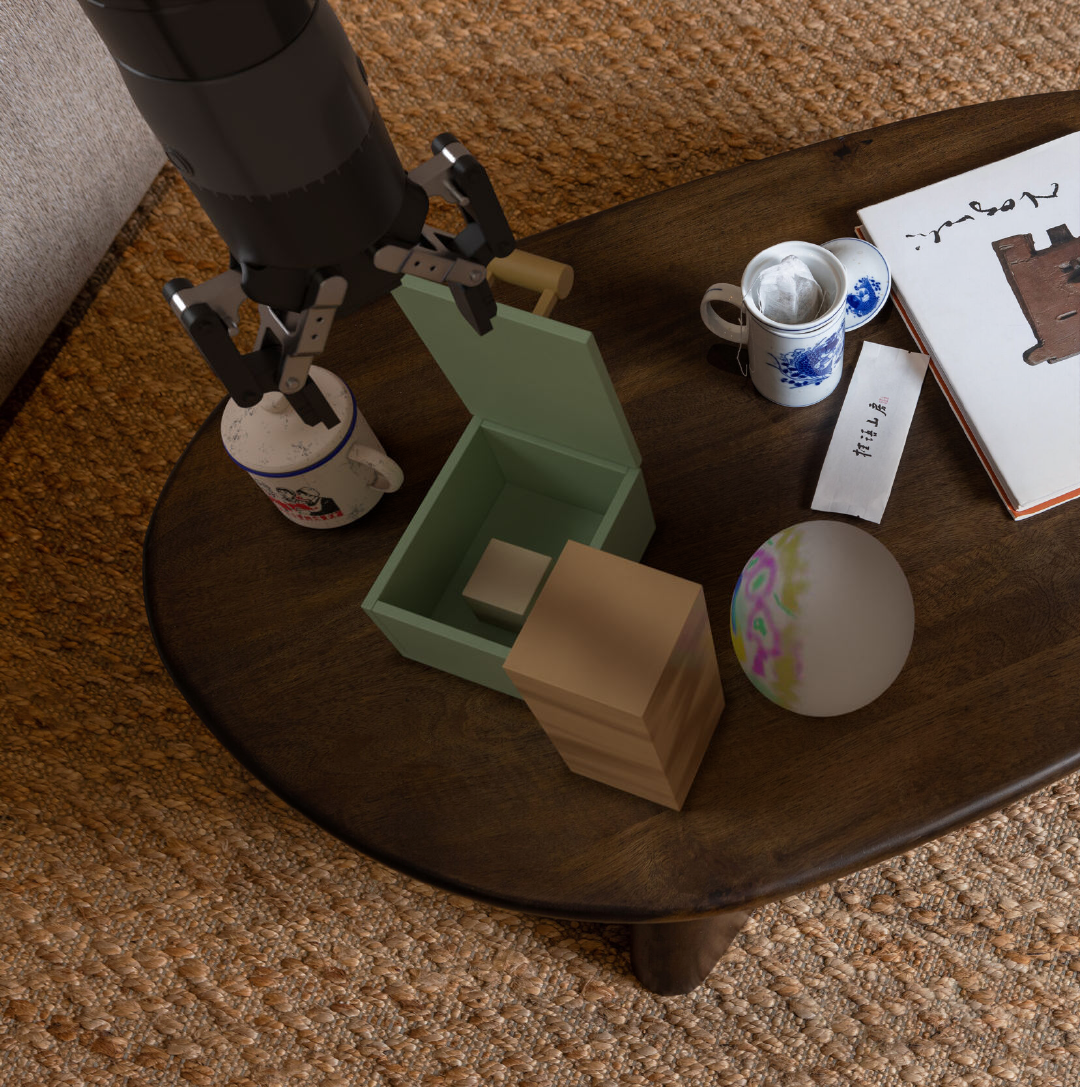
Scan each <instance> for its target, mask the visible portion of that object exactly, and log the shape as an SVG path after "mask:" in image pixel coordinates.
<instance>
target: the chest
mask: <svg viewBox="0 0 1080 1087" xmlns="http://www.w3.org/2000/svg"><path fill="white" fill-rule="evenodd" d="M643 474H644V473H643V470H642V468H641V467H639V468H638V469H635V468H632V467H629V466H626V465H623V464H620V463H617V462H614V461H611V460H608V459H605V458H602V457H599V456H596V455H593V454H590V453H587V452H584V451H581V450H578V449H575V448H572V447H569V446H566V445H563V444H560V443H557V442H554V441H551V440H548V439H545V438H542V437H539V436H536V435H533V434H530V433H527V432H524V431H521V430H518V429H515V428H512V427H509V426H506V425H503V424H500V423H497V422H494V421H491V420H488V419H485V418H481V417H478V416H475V415H473V416H472V418H471V419H470V422H469V423H468V425H467V427H466V428H465V430H464V431H463V433H462V435H461V437H460V438H459V440H458V442H457V443H456V445H455V447H454V449H453V450H452V452H451V453H450V455H449V457H448V459H447V460H446V462H445V464H444V465H443V467H442V469H441V470H440V472H439V474H438V476H437V477H436V479H435V481H434V482H433V484H432V486H431V487H430V489H429V490H428V492H427V494H426V496H425V497H424V499H423V501H422V502H421V504H420V506H419V507H418V509H417V511H416V513H415V514H414V516H413V518H412V519H411V521H410V523H409V525H408V526H407V528H406V529H405V531H404V533H403V534H402V536H401V537H400V539H399V541H398V543H397V545H396V546H395V548H394V550H393V551H392V553H391V555H390V556H389V558H388V560H387V561H386V563H385V565H384V567H383V568H382V570H381V571H380V573H379V575H378V576H377V578H376V580H375V581H374V583H373V585H372V587H371V588H370V590H369V592H368V593H367V595H366V597H365V598H364V599H363V602H362V604H361V605H360V607H361V609H362V610H363V611H364V612H365V613H366V615H367V616H368V617H369V618H370V619H371V620H372V622H373V623H374V624H375V625H376V626H377V628H378V629H379V631H381V632H382V633H383V634H384V636H385V637H386V638H387V639H388V640H389V642H391V644H392V645H393V646H394V647H395V649H396V650H397V651H398V652H399V653H400V655H401V656H402V657H404V658H407V659H410V660H412V661H415V662H418V663H421V664H423V665H426V666H429V667H432V668H434V669H437V670H440V671H442V672H445V673H448V674H451V675H453V676H455V677H459V678H462V679H464V680H467V681H470V682H473V683H475V684H478V685H481V686H484V687H486V688H489V689H491V690H494V691H498V692H500V693H502V694H505V695H508V696H512V697H514V698H516V699H519V700H522V701H525V700H524V699H523V697H522V696H521V694H520V693H519V691H518V690H517V688H516V687H515V685H514V684H513V682H512V681H511V679H510V678H509V676H508V674H507V673H506V671H505V670H504V668H503V664H504V663H505V661H506V659H507V657H508V655H509V653H510V651H511V649H512V647H513V645H514V643H515V641H516V639H517V638H518V636H519V634H516V633H513V632H510V631H507V630H505V629H502V628H499V627H496V626H493V625H490V624H487V623H484V622H481V621H479V620H478V619H477V617H476V616H475V614H474V613H473V611H472V610H471V608H470V607H469V605H468V603H467V602H466V600H465V599H464V597H463V596H462V593H463V591H464V589H465V587H466V585H467V583H468V581H469V580H470V578H471V576H472V574H473V572H474V570H475V568H476V567H477V565H478V563H479V561H480V559H481V557H482V556H483V554H484V552H485V550H486V548H487V546H488V544H489V543H490V541H491V539H492V538H495V539H498V540H501V541H504V542H507V543H510V544H513V545H516V546H519V547H522V548H525V549H528V550H531V551H534V552H537V553H540V554H543V555H546V556H549V557H552V558H553V561H554V563H555V565H556V563H557V561H558V559H559V557H560V555H561V553H562V551H563V549H564V547H565V546H566V544H567V542H568V540H572V541H575V542H578V543H581V544H584V545H587V546H589V547H592V548H595V549H598V550H601V551H604V552H607V553H610V554H613V555H616V556H619V557H622V558H624V559H627V560H630V561H633V562H636V563H639V564H640V561H641V560H642V558H643V556H644V553H645V552H646V550H647V547H648V545H649V543H650V542H651V539H652V536H653V535H654V533H655V531H656V528H657V525H656V522H655V518H654V514H653V509H652V507H651V506H652V505H651V502H650V498H649V494H648V491H647V486H646V481H645V479H644V475H643Z"/></svg>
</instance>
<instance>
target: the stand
mask: <svg viewBox="0 0 1080 1087" xmlns="http://www.w3.org/2000/svg"><path fill="white" fill-rule="evenodd" d="M712 634H713V633H712V630H711V623H710V619H709V613H708V609H707V602H706V599H705V593H704V587H703V585H702V584H700V583H697V582H694V581H691V580H689V579H685V578H683V577H679V576H677V575H675V574H671V573H668V572H666V571H662V570H659V569H658V568H657V569H656V568H653V567H650V566H648V565H645V564H642V563H640V562H639V563H636V562H633V561H630V560H627V559H624V558H622V557H619V556H616V555H613V554H610V553H607V552H604V551H601V550H598V549H595V548H592V547H589V546H587V545H584V544H581V543H578V542H575V541H572V540H568V542H567V544H566V546H565V547H564V549H563V551H562V553H561V555H560V557H559V559H558V561H557V563H556V565H555V567H554V569H553V570H552V572H551V574H550V576H549V578H548V580H547V582H546V584H545V586H544V588H543V590H542V592H541V593H540V595H539V597H538V599H537V601H536V603H535V605H534V607H533V609H532V611H531V613H530V615H529V616H528V618H527V620H526V622H525V624H524V626H523V628H522V630H521V632H520V634H519V636H518V638H517V639H516V641H515V643H514V645H513V647H512V649H511V651H510V653H509V655H508V657H507V659H506V661H505V663H504V664H503V668H504V670H505V671H506V673H507V674H508V676H509V678H510V679H511V681H512V682H513V684H514V685H515V687H516V688H517V690H518V691H519V693H520V694H521V696H522V697H523V699H524V700H523V701H524V702H525V704H526V705H527V706H528V708H529V710H530V711H531V713H532V714H533V716H534V717H535V719H536V721H537V722H538V724H539V725H540V726H541V727H542V729H543V731H544V733H545V734H546V735H547V737H548V739H549V740H550V741H551V743H552V744H553V746H554V748H555V749H556V751H557V752H558V753H559V755H560V756H561V758H562V759H563V761H564V762H565V764H566V765H567V767H568V769H569V771H570V772H573V773H575V774H577V775H580V776H583V777H585V778H588V779H591V780H594V781H596V782H599V783H602V784H604V785H607V786H610V787H613V788H615V789H618V790H620V791H623V792H626V793H629V794H631V795H634V796H636V797H639V798H643V799H644V800H648V801H650V802H653V803H656V804H658V805H661V806H664V807H666V808H669V809H671V810H675V811H677V812H681V810H682V808H683V806H684V803H685V801H686V799H687V796H688V794H689V792H690V789H691V787H692V785H693V782H694V779H695V778H696V775H697V773H698V770H699V768H700V765H701V763H702V761H703V759H704V756H705V753H706V751H707V749H708V747H709V744H710V742H711V739H712V737H713V735H714V733H715V730H716V728H717V725H718V724H719V721H720V718H721V716H722V713H723V711H724V709H725V706H726V701H725V695H724V690H723V686H722V680H721V676H720V670H719V665H718V660H717V655H716V649H715V644H714V640H713V635H712Z"/></svg>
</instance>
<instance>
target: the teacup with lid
mask: <svg viewBox="0 0 1080 1087" xmlns="http://www.w3.org/2000/svg"><path fill="white" fill-rule="evenodd" d="M308 374H309V375H310V376H311V378H312V379H313V380H314V382H315V383H316V385H317V386H318V388H319V389H320V391H321V392H322V394H323V395H324V397H325V398H326V400H327V401H328V403H329V404H330V406H331V407H332V409H333V410H334V412H335V413H336V415H337V416H338V418H339V419H340V421H341V423H339V424H338V425H336V426H334V427H333V428H331V429H329V430H328V429H327V428H326V426H325V425H324V424H323V422H320V423H319V424H317V425H315V426H314V427H311V426H309V425H307V424H305V423H304V422H303V421H302V419H301V418H300V417H299V415H298V414H297V413H296V411H295V410H294V409H293V407H292V406H291V405H290V403H289V402H288V401H287V399H286V398H285V396H284V395H283V394H282V393H280V392H269V393H265V394H264V395H263V398H262V400H261V401H260V402H259V403H258V404H257V405H255V406H253V407H250V408H241V407H239V406H238V405H237V404H236V403H235V401H234V400H233V399H232V397H231V396H230V398H229V399H228V402H227V404H226V406H225V407H224V408H225V409H224V410H223V414H222V417H221V422H220V435H221V440H222V444H223V447H224V449H225V451H226V453H227V455H228V456H229V457H230V458H229V459H231V460H232V461H233V462H234V463H235V464H236V465H237V466H238V467H240V468H241V469H243V470H244V471H246V472H247V473H248V475H249V476H250V477H251V478H252V480H254V482H255V483H256V484H257V486H259V488H261V490H262V491H263V492H264V494H265V495H267V497H268V498H269V499H270V500H271V502H272V503H273V504H274V505H275V506H276V507H277V509H278V510H279V511H280V512H281V513H282V514H283V515H284V516H285V517H286V518H287V519H289V520H290V521H292V522H294V523H295V524H297V525H300V526H302V527H306V528H311V529H319V530H320V529H322V530H323V529H333V528H338V527H342V526H345V525H348V524H350V523H353V522H355V521H357V520H359V519H361V518H362V517H363V516H364V515H366V514H368V513H369V512H370V511H371V510H372V509H373V508H375V507H376V505H377V504H378V502H380V500H381V499H382V497H383V495H384V493H394V492H396V491H398V490H399V489H400V488H401V486H402V484H403V483H404V480H405V479H404V478H405V476H404V471H403V469H401V467H400V466H399V465H398V463H397V462H396V461H395V460H393V459H392V458H391V457H389V456H388V455H387V452H386V451H385V449H384V447H383V445H382V444H381V443H380V441H379V439H378V437H377V435H375V433H374V431H373V430H372V428H371V427H370V424H369V423H368V421H367V420H366V418H365V417H364V415H363V413H362V412H361V411H360V409H359V407H358V405H357V401H356V397H355V395H354V393H353V390H352V389H351V388H350V386H349V384H348V383H347V382H345V380H344V379H342V378H341V377H340V376H339V375H337V374H335V373H334V372H332V371H330V370H329V369H327V368H324V367H321V366H318V365H314V364H311V367H310V370H309V373H308Z"/></svg>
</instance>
